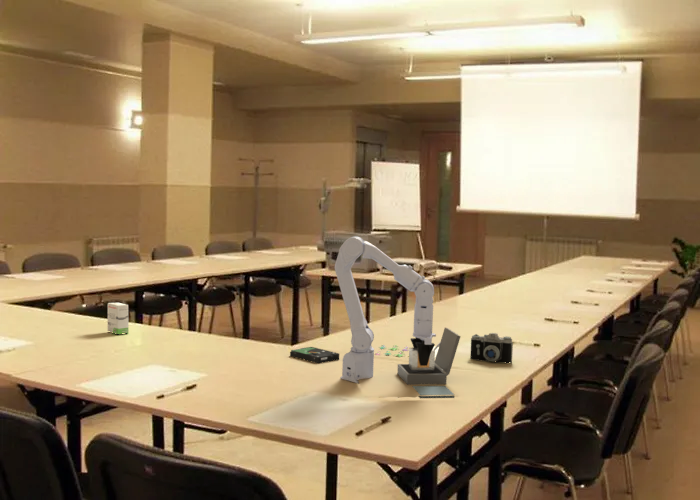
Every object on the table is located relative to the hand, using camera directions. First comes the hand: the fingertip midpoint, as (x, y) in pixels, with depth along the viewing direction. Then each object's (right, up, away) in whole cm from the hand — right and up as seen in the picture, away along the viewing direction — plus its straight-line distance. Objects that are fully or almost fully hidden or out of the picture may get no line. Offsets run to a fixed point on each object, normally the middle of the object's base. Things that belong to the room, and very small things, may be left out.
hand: (421, 363), depth 234 cm
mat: (+2, -7, -13) cm, 15 cm away
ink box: (-113, +2, +66) cm, 131 cm away
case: (+2, -6, +1) cm, 6 cm away
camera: (+27, -5, +33) cm, 43 cm away
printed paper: (-5, -3, +45) cm, 46 cm away
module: (0, -2, 0) cm, 2 cm away
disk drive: (-34, -3, +31) cm, 46 cm away
